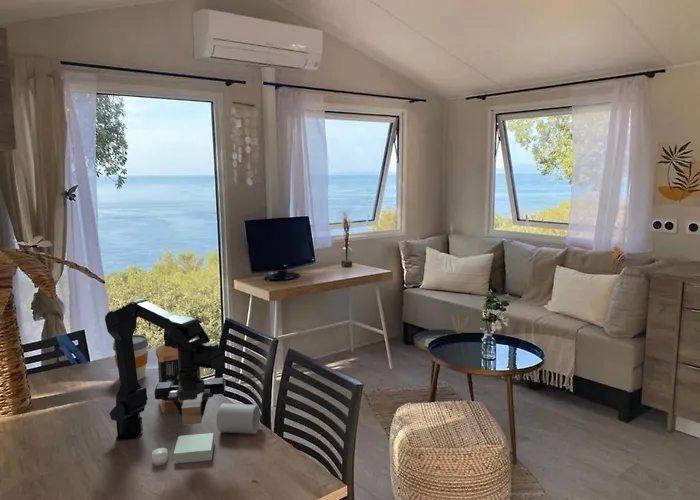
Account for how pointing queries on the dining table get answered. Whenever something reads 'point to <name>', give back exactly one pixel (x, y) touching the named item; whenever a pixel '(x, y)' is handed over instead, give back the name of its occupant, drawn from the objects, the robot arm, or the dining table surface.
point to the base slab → (194, 448)
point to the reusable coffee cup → (138, 354)
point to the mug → (238, 418)
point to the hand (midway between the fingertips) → (192, 416)
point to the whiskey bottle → (168, 369)
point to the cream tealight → (160, 456)
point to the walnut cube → (191, 411)
